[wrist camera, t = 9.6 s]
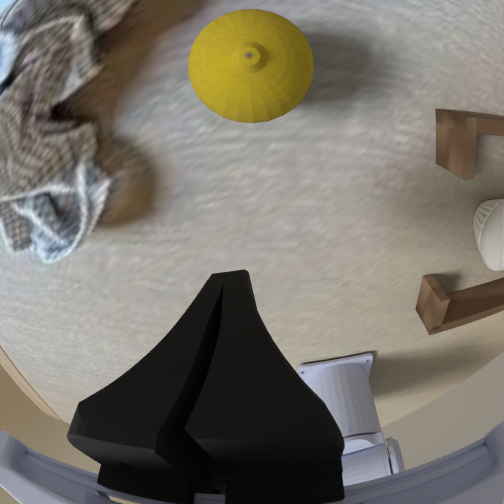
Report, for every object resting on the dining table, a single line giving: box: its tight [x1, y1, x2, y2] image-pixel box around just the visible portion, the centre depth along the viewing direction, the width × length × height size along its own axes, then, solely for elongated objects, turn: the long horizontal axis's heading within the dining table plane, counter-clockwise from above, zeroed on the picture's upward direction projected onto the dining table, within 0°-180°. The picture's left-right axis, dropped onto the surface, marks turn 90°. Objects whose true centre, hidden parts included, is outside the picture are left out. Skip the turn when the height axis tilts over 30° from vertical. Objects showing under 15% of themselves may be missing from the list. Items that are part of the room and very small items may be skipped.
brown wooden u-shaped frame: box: [416, 109, 504, 335], centre depth 17 cm, size 18×14×4 cm
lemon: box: [188, 9, 314, 123], centre depth 11 cm, size 6×6×8 cm
